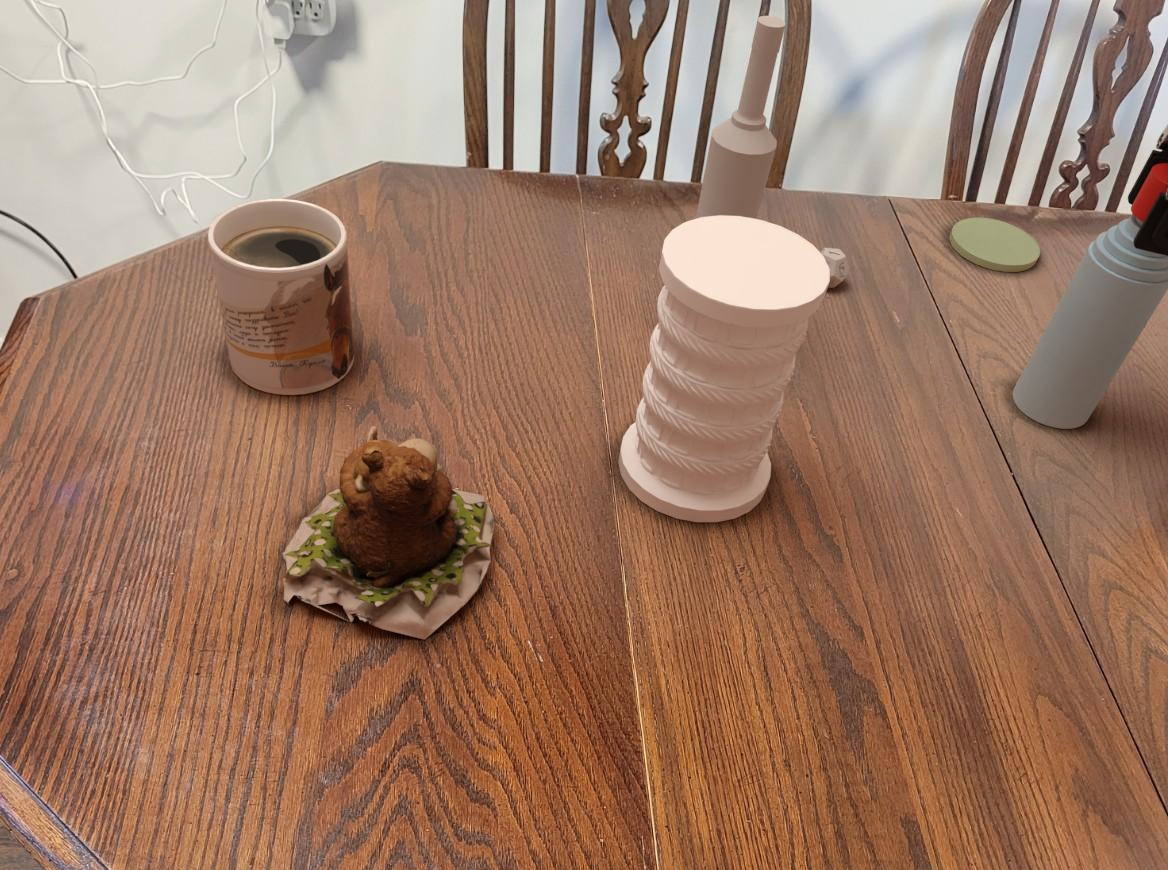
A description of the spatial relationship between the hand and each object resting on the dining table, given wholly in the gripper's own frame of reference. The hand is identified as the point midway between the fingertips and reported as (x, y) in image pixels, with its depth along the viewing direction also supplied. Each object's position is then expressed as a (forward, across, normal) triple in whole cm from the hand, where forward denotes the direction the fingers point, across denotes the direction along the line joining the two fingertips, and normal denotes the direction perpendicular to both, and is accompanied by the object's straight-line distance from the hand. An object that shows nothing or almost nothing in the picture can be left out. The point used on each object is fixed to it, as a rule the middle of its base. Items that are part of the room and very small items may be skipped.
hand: (1151, 226), depth 78 cm
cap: (-1, 0, 0) cm, 1 cm away
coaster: (+17, +25, +6) cm, 31 cm away
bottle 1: (+17, -1, +31) cm, 35 cm away
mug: (+17, -19, +61) cm, 66 cm away
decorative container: (+17, -21, +28) cm, 38 cm away
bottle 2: (+17, 0, 0) cm, 17 cm away
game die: (+17, +10, +21) cm, 29 cm away
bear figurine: (+17, -37, +45) cm, 61 cm away
